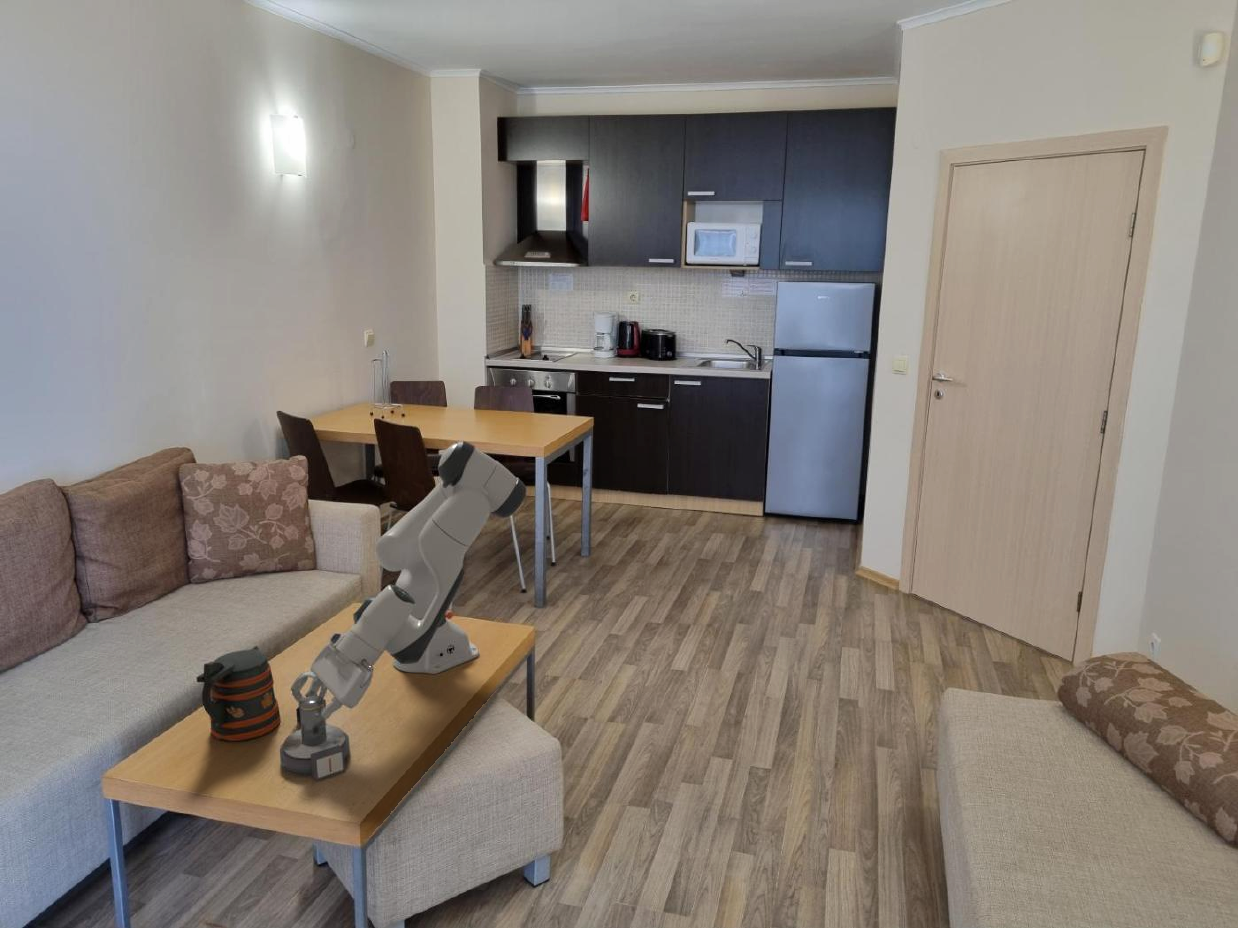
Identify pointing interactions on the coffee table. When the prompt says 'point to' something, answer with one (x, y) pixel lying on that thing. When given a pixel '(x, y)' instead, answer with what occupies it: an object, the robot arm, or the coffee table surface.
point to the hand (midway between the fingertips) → (315, 707)
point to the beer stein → (240, 695)
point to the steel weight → (312, 721)
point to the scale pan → (300, 751)
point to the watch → (300, 683)
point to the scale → (318, 762)
